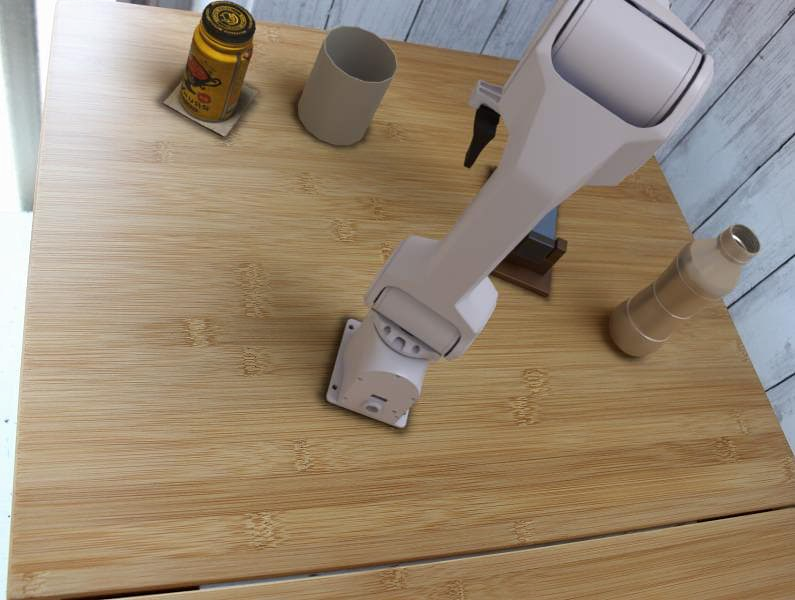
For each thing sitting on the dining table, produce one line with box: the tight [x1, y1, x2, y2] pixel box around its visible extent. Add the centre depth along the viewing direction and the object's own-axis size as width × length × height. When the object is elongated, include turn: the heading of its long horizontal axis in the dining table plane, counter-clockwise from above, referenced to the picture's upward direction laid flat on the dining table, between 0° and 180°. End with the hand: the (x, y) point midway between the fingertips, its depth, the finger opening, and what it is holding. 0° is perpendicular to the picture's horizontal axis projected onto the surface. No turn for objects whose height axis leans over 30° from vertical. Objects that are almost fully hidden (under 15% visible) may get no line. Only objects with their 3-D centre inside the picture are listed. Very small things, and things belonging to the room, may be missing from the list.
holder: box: [489, 165, 568, 298], centre depth 96 cm, size 16×9×6 cm, turn 169°
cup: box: [297, 25, 399, 146], centre depth 93 cm, size 8×8×10 cm
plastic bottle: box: [608, 222, 762, 358], centre depth 88 cm, size 6×7×20 cm
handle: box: [515, 205, 559, 263], centre depth 95 cm, size 14×3×3 cm, turn 169°
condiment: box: [162, 0, 259, 138], centre depth 87 cm, size 7×8×12 cm
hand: (500, 175), depth 88 cm, fingers open, 7 cm apart
